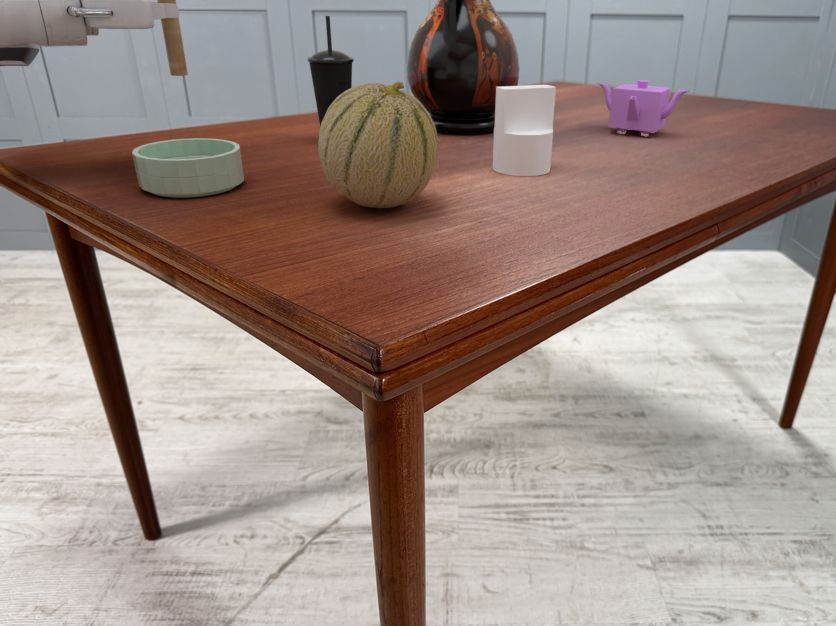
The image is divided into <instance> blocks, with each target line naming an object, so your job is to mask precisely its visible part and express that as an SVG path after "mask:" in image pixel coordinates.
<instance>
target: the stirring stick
mask: <svg viewBox="0 0 836 626" xmlns="http://www.w3.org/2000/svg"><path fill="white" fill-rule="evenodd" d="M156 2H158V3H173V4H176V5H177V0H157V1H156ZM177 6H178V5H177ZM160 23H161V28H162V34H163V39H164V40H163V41H164V46H165V52H166V57H167V62H168V69H169V74H170V76H172V77H184V76H188V75H189V73H188V67H187V61H186V54H185V49H184V48H185V47H184V41H183V36H182V30H181V23H180V16H179V17H178V18H164V19H160Z"/></svg>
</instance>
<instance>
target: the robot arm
mask: <svg viewBox="0 0 836 626" xmlns="http://www.w3.org/2000/svg"><path fill="white" fill-rule="evenodd" d="M176 4H177V3H176ZM176 4H173V3H158V1H151V0H0V67H29V66H30V65H31V64H32V63H33V62H34V60H35V59H36V57H37V56H38V54H39V53H40V47H46V48H47V47H50V48H51V47H53V48H54V47H86V46H88V36H89V37H91V36H93V37H95V36H97V37H98V36H99V35H100V29H101V30H148V29H153V28H155V21H157V20H161V19H164V18H178V17H179V18H180V9H179V6H178V5H176Z"/></svg>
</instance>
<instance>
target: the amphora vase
mask: <svg viewBox="0 0 836 626" xmlns="http://www.w3.org/2000/svg"><path fill="white" fill-rule="evenodd" d="M501 17H502V16H500V14H499V13H498V12H497V10H496V9H495V7H494V6H493V3H492V2H491V0H437V2H436V4H435V5H434V6H433V8H432V10H431V11H430V12H429V13H428V14H427V15H426V17H425V18H424V20H422V22H421V23H420V24H419V25H418V27H417V29H416V31H415V33H414V35H413V37H412V40H411V43H410V46H409V49H408V55H407V63H406V74H407V77H406V78H407V83H408V86H409V89H410V92H411V94H412V95H413V96H414V97H415V98H417V99H418V100H419V101H420V103H421V104H422V105H423V106H424V108H425V109H426V110H427V111H428V113H429V114H430V116H431V118H432V120H433V122H434V124H435V128H436V132H437V133H442V134H451V135H479V134H487V133H494V128H495V105H496V87H502V86H519V79H520V61H519V53H518V50H517V45H516V42H515V39H514V37H513V34H512V32H511V30H510V29H509V26H507V24H506V22H505V21H504V20H503V19H502V18H501Z"/></svg>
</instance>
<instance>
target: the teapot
mask: <svg viewBox="0 0 836 626" xmlns="http://www.w3.org/2000/svg"><path fill="white" fill-rule="evenodd" d="M636 83H637V84H632V83H623V84H621V85H618V86H615V87H613V88H612V89H611V87H610V85H609V84H607V83H604V82H596V84H597V85H599V86H600V87H601V89H603V91H604V95H605V97H604V98H605V104H606V107H607V109H608V111H609V116H608V126H607V127H608V128H613V129H617V131H621V132H625V131H627V130H628V129H630V130H631V131H638V132H639V134H640V133H643V134H648V133H649V132H656V133H657V132H658V131H660V130H661V129H663V128H664V127H666V121H667V118H668V117H669V116H671V115H672V113H673V112H674V110H675V109H676V106H677V104H678V102H679V100H680V98H681V97H682V96H683V95H685V94H686V93H689V92H690V90H688V89H679V90H677V91H676V92H675V93H674V94H673V96H672V98H671V100H670V95H671V90H672V89H671V87H666V86H655V85H649V83H650V80H648V79H637V80H636ZM669 101H670V102H669ZM627 132H628V131H627ZM649 134H650V133H649Z"/></svg>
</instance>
